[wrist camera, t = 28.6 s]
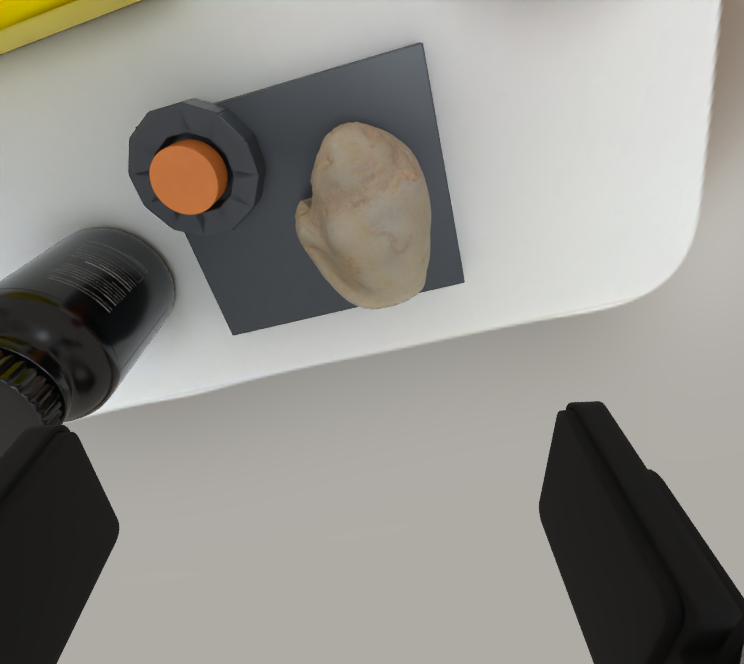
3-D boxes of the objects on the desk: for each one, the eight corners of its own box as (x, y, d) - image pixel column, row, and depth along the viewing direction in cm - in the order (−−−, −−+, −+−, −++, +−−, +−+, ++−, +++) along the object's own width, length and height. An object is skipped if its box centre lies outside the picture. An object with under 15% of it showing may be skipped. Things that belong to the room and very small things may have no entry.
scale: (230, 327, 30) (217, 354, 28) (131, 116, 24) (103, 125, 22) (461, 274, 28) (470, 297, 26) (418, 31, 22) (424, 29, 20)
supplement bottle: (32, 249, 28) (-172, 371, 17) (134, 206, 26) (-19, 311, 16) (106, 344, 31) (-27, 496, 21) (200, 311, 30) (108, 454, 19)
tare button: (180, 210, 24) (168, 222, 22) (151, 148, 22) (136, 156, 21) (237, 195, 23) (228, 206, 22) (212, 131, 22) (200, 137, 20)
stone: (428, 195, 28) (377, 76, 21) (473, 278, 24) (430, 169, 18) (325, 251, 29) (245, 156, 22) (355, 337, 26) (272, 257, 19)
